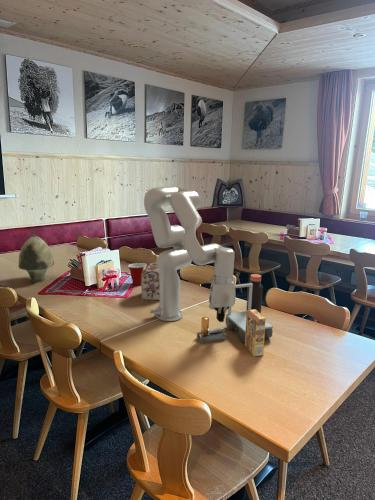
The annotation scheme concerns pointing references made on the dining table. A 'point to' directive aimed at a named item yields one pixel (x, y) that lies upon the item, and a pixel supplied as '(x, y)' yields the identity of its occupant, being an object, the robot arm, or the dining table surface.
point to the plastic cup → (136, 272)
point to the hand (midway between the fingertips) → (220, 320)
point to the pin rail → (211, 337)
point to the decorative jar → (150, 282)
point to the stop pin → (205, 328)
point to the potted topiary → (35, 258)
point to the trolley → (244, 318)
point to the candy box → (255, 332)
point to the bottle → (255, 293)
